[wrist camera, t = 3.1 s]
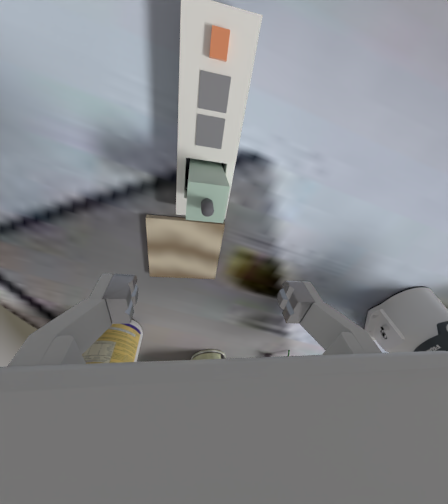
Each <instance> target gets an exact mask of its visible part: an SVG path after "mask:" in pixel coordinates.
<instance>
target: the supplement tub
mask: <svg viewBox="0 0 448 504" xmlns="http://www.w3.org/2000/svg"><path fill="white" fill-rule="evenodd" d="M142 336H143V332H142V328H141V326H140V325H139V324H138V323H137V322H136V321H134V320H133V319H132V320H131V323H129V324H112V325H111V326H110V327H109V328H108V329H107V330H106V331H105V332H104V333H103V334H102V335H101V336H100V337H99V338H98V339H97V340H96V341H95V342H94V343H93V344H92V345H91V346H90V347H89V348H88V349H87V350H86V351H85V352H84V353H83V354H82V356H83V358H84V360H85V362H86V364H93V363H120V362H137V358H138V354H139V349H140V344H141V340H142Z"/></svg>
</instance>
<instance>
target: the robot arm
mask: <svg viewBox="0 0 448 504" xmlns="http://www.w3.org/2000/svg"><path fill="white" fill-rule="evenodd" d="M136 282H137V277H136V275H124V274H105V273H103V274H102V275H101V276H100V278H99V280H98V282H97V284H96V286H95V288H94V289H93V291H92V293H91V295H90V297H89V299H84V300H82V301H81V302H79V303H78V304H76V305H75V306H73V307H72V308H70V309H69V310H67V311H66V312H64V313H62V314H61V315H59V316H58V317H56V318H55V319H53V320H52V321H50V322H49V323H47V324H46V325H44V326H43V327H41V328H39V329H38V330H36V331H35V332H33V333H32V334H30V335H29V336H28V338H27V339H26V341H25V342H24V343H23V345H22V346H21V348H20V349H19V351H18V352H17V353H16V355H15V356H14V358H13V359H12V361H11V362H10V363H9V365H8V366H7V367H0V504H448V309H447V308H446V307H445V306H444V305H443V304H442V303H441V300H440V299H439V298H438V297H436V296H435V294H434V293H433V291H432V290H431V289H429V288H425V287H419V288H413V289H409V290H406V291H403V292H401V293H398V294H396V295H394V296H392V297H391V298H389V299H388V300H386V301H385V302H383V303H382V304H380V305H378V306H376V307H374V308H372V309H370V310H369V311H368V314H367V319H366V323H365V328H364V329H363V328H361V327H360V326H358V325H357V324H355V323H354V322H353V321H351V320H350V319H348V318H347V317H346V316H344V315H343V314H341V313H340V312H338V311H337V310H336V309H334V308H333V307H331V306H330V305H329V304H327V303H324V302H323V300H322V299H321V297H320V296H319V294H318V293H317V291H316V289H315V288H314V286H313V285H312V283H311V282H309V281H285V282H283V284H282V287H283V289H281V290H280V291H279V293H278V299H277V300H278V304H279V307H281V308H282V309H283V312H282V314H283V316H284V319H285V321H286V323H300V325H301V326H302V327H303V328H304V329H305V330H306V331H307V332H308V333H309V334H310V335H311V336H312V337H313V338H314V339H315V340H316V341H317V342H318V343H319V344H320V345H321V346H322V347H323V348H324V349H325V350H326V351H325V352H324V353H323V354H322V355H310V356H283V357H256V358H229V359H202V360H175V361H147V362H120V363H93V364H86V362H85V360H84V358H83V356H82V354H83V353H84V352H85V351H86V350H87V349H88V348H89V347H90V346H91V345H92V344H93V343H94V342H95V341H96V340H97V339H98V338H99V337H100V336H101V335H102V334H103V333H104V332H105V331H106V330H107V329H108V328H109V327H110V326H111V325H112V324H129V323H131V320H132V317H133V314H134V309H133V307H134V306H135V305H136V303H137V299H138V287H137V286H136ZM373 340H376V341H377V342H378V344H379V345H380V346H381V347H382V348H383V349H384V350H385V351H387V352H389V353H382V352H381V351H380V349H379V348H378V346H377V345H376V344H375V342H374V341H373Z"/></svg>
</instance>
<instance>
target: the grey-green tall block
mask: <svg viewBox="0 0 448 504" xmlns="http://www.w3.org/2000/svg"><path fill="white" fill-rule="evenodd" d="M229 189H230V185H229V183H228V180H227V178H226V175H225V172H224V170H223V167H222V165H221V163H219V162H212V161H205V160H199V159H192V158H190V166H189V175H188V188H187V205H186V220H193V221H204V222H215V223H224V217H225V212H226V206H227V200H228V195H229Z"/></svg>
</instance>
